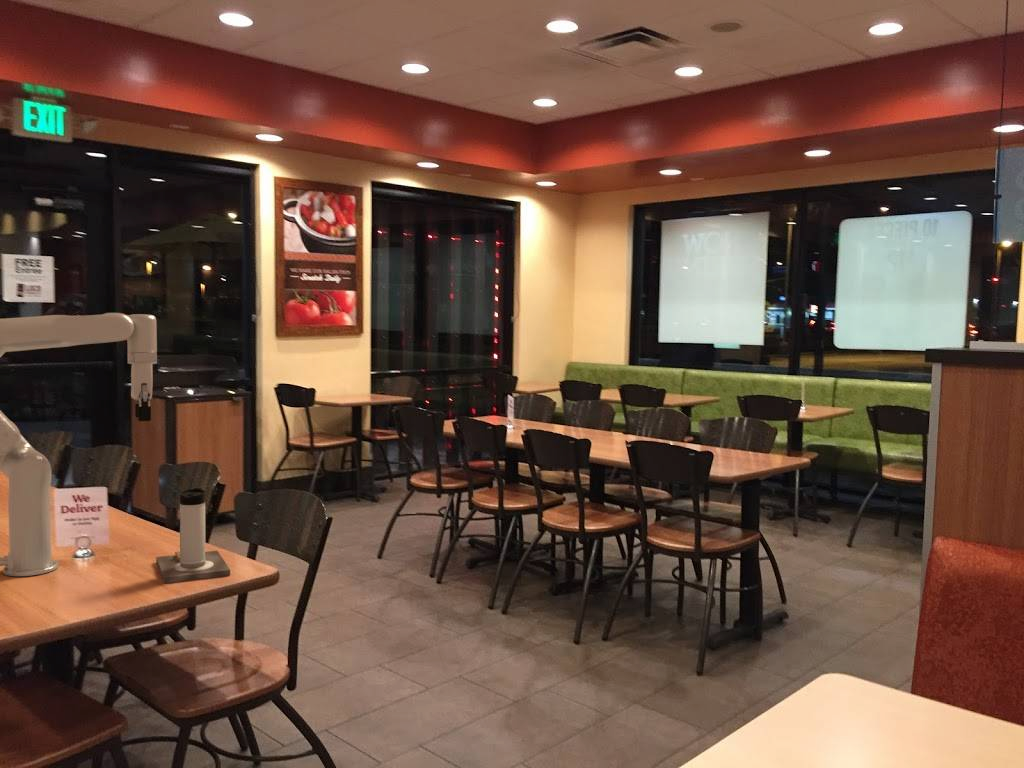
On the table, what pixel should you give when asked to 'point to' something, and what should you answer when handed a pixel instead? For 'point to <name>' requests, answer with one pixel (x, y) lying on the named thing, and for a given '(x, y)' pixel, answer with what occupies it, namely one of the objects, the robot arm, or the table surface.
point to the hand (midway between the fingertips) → (143, 419)
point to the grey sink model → (176, 573)
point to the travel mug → (192, 528)
